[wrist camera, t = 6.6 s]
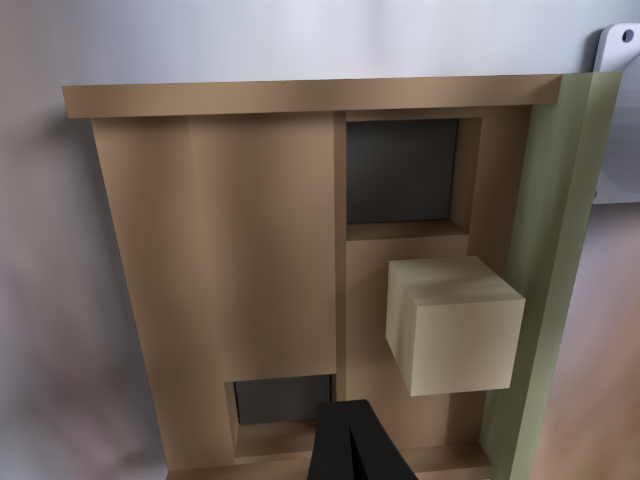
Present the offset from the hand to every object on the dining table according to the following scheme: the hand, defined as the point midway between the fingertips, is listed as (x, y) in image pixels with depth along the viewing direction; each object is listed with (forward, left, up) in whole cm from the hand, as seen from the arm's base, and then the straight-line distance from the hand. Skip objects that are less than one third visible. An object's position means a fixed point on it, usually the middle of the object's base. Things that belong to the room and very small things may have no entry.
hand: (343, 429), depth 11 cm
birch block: (-5, +1, -8) cm, 9 cm away
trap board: (-1, +1, -10) cm, 10 cm away
